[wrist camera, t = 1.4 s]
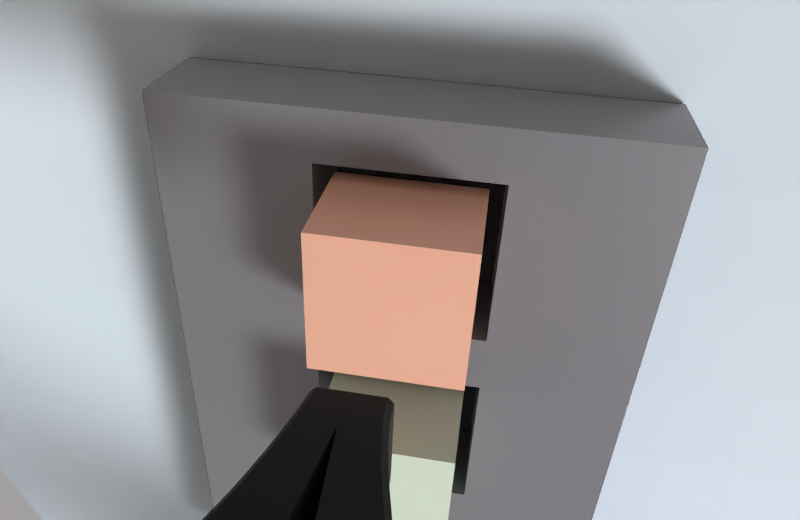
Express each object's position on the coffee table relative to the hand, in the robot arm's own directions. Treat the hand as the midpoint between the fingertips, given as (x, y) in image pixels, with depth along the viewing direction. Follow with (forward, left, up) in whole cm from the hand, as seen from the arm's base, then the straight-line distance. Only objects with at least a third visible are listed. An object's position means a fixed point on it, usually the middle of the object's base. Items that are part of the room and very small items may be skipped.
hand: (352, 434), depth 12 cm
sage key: (-6, 0, -6) cm, 9 cm away
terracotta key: (0, 0, -6) cm, 6 cm away
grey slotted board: (-6, 0, -8) cm, 10 cm away
